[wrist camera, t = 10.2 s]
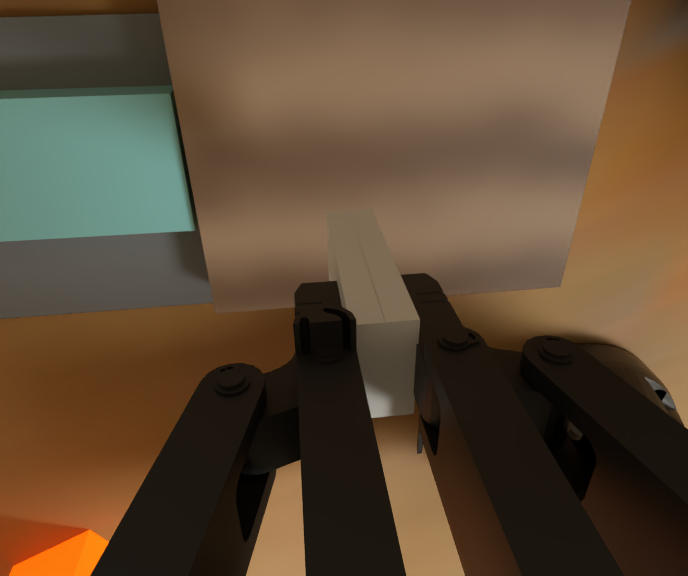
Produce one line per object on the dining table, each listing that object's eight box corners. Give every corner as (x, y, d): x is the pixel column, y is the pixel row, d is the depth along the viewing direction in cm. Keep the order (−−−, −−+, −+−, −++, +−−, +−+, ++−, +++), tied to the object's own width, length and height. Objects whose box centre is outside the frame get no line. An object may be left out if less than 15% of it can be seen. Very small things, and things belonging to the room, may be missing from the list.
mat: (224, 298, 28) (223, 302, 27) (-41, 318, 27) (-46, 322, 26) (174, 12, 20) (172, 13, 20) (-196, 22, 19) (-204, 22, 19)
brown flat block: (535, 260, 29) (560, 286, 26) (221, 282, 27) (215, 313, 25) (595, -25, 21) (637, -26, 19) (169, -16, 20) (153, -16, 17)
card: (201, 213, 25) (195, 230, 23) (-12, 225, 24) (-35, 243, 22) (178, 85, 21) (170, 93, 20) (-68, 92, 21) (-100, 102, 19)
